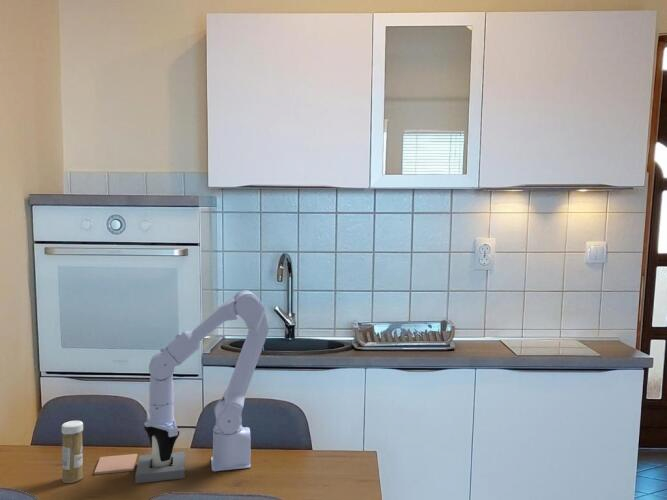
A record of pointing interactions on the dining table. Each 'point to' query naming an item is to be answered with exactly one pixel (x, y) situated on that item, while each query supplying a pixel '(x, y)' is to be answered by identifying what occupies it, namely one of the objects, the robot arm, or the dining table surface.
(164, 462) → the plug
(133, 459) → the tile
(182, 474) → the grey square frame
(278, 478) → the dining table surface
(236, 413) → the robot arm
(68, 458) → the sprinkles bottle
